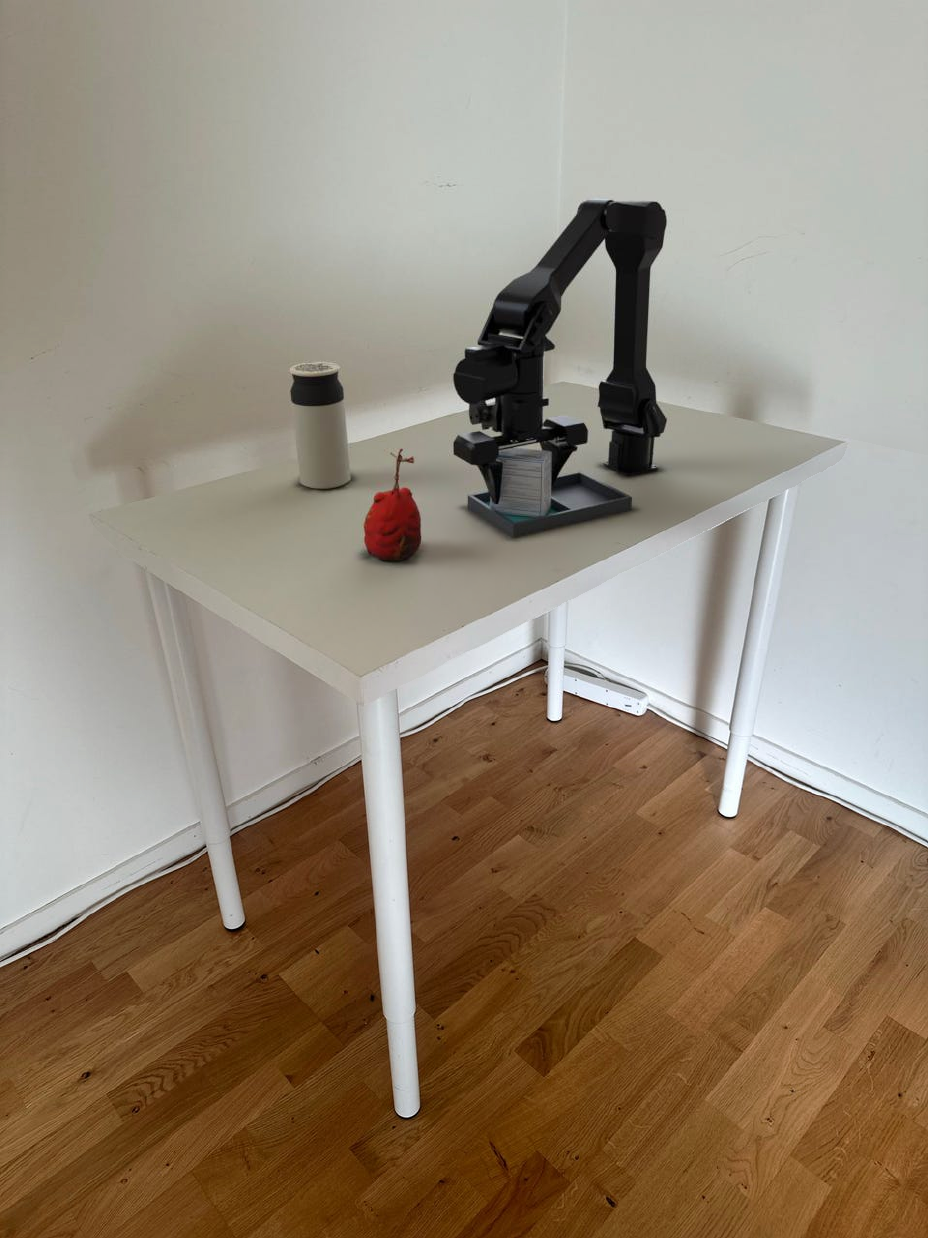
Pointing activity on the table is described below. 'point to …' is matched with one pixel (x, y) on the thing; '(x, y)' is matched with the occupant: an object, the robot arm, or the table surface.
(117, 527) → the table surface
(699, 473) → the table surface
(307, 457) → the travel mug
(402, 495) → the red lumpy rounded piece
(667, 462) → the table surface
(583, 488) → the organiser tray
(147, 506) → the table surface
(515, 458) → the medicine box
